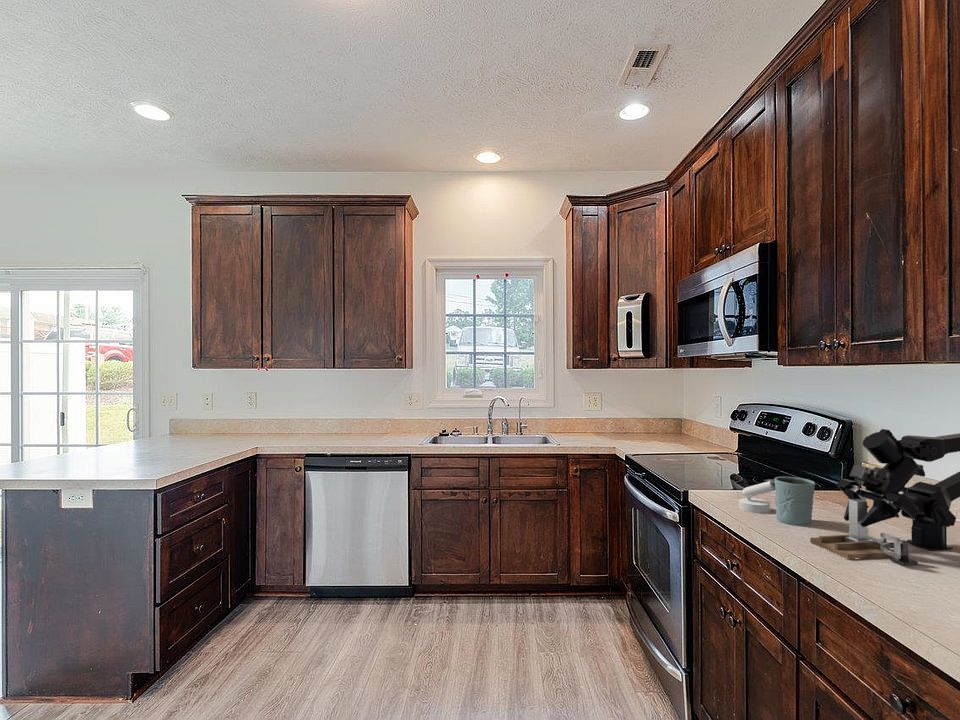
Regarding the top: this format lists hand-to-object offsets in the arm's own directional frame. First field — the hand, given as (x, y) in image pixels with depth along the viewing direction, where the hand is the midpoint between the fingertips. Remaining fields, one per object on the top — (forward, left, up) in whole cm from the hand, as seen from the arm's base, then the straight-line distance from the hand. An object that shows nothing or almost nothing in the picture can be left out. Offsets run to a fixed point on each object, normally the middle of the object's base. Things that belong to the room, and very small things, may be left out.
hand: (853, 522), depth 131 cm
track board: (0, 0, -7) cm, 7 cm away
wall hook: (+1, -36, -7) cm, 37 cm away
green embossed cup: (-2, -23, -7) cm, 24 cm away
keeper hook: (-3, +9, -7) cm, 12 cm away
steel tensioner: (-1, +5, -5) cm, 7 cm away
